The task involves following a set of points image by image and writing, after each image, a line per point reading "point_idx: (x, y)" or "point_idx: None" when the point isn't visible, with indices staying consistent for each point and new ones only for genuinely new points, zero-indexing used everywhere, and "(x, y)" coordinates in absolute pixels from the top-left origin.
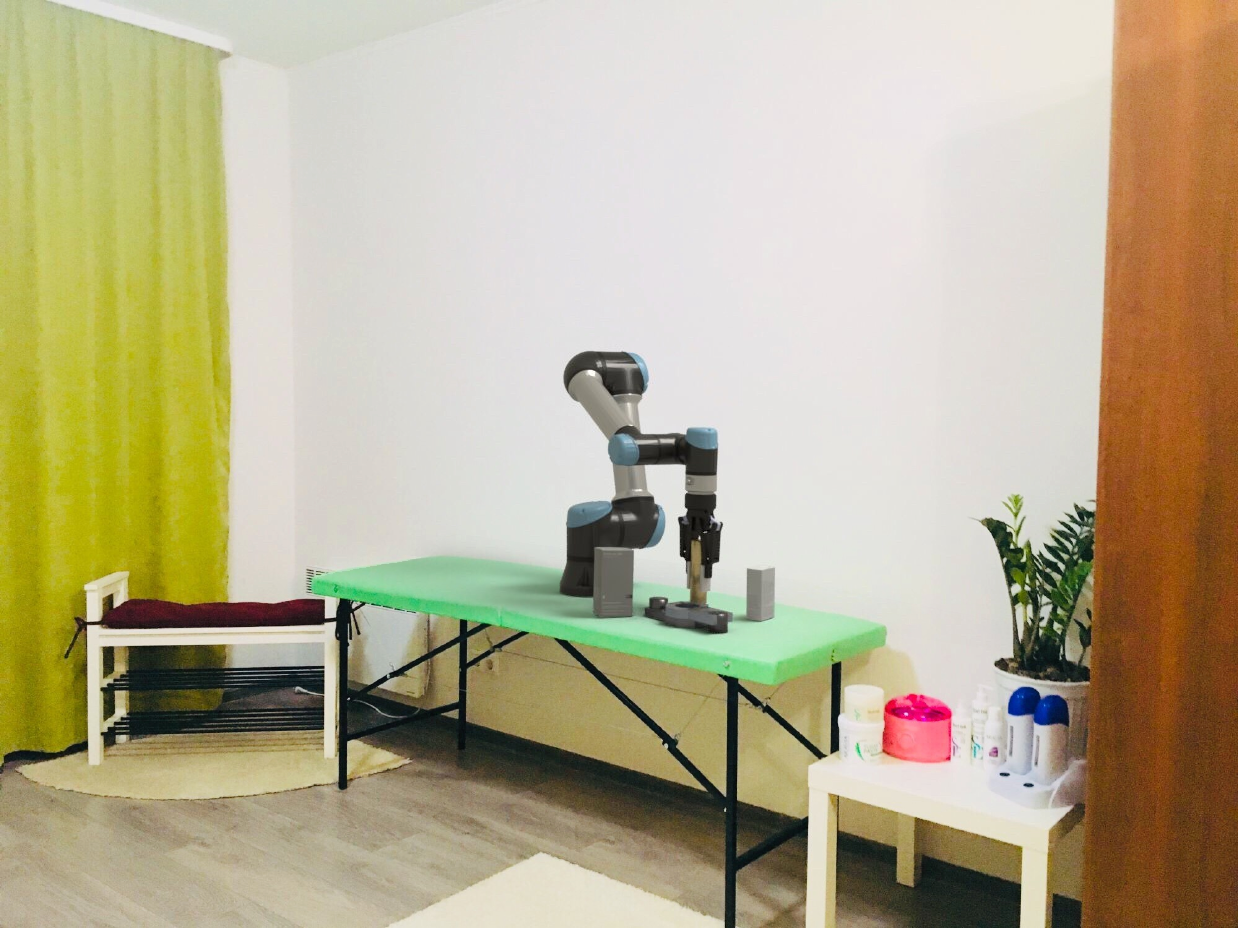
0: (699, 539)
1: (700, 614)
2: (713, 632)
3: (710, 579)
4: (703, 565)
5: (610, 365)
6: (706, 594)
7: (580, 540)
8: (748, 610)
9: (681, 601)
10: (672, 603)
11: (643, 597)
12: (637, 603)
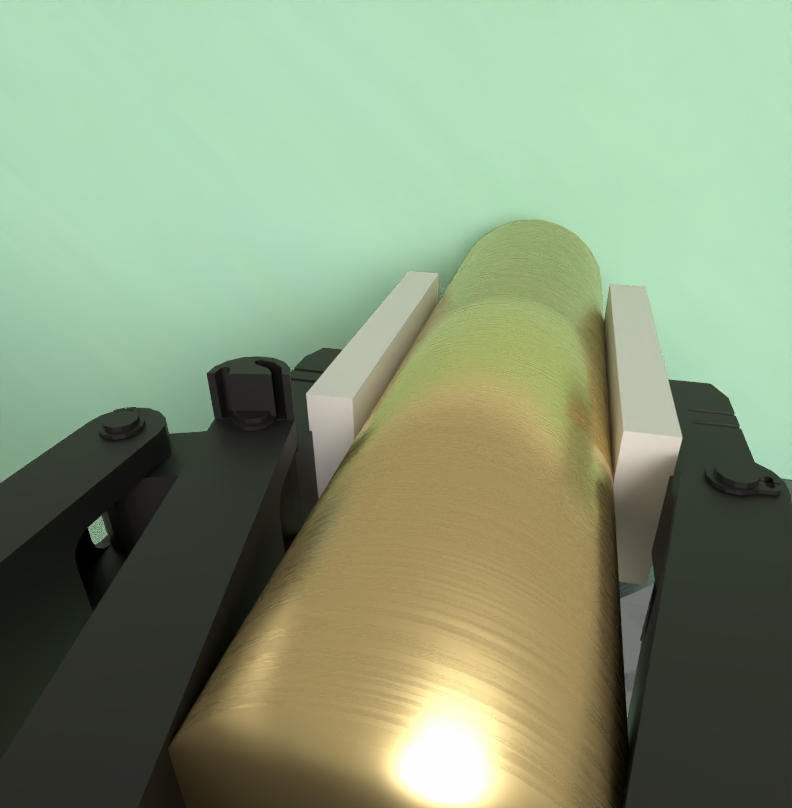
0: (242, 779)
1: None
2: None
3: (656, 334)
4: (647, 563)
5: None
6: (596, 282)
7: None
8: None
9: (631, 602)
10: (632, 675)
11: (7, 239)
12: (149, 390)
